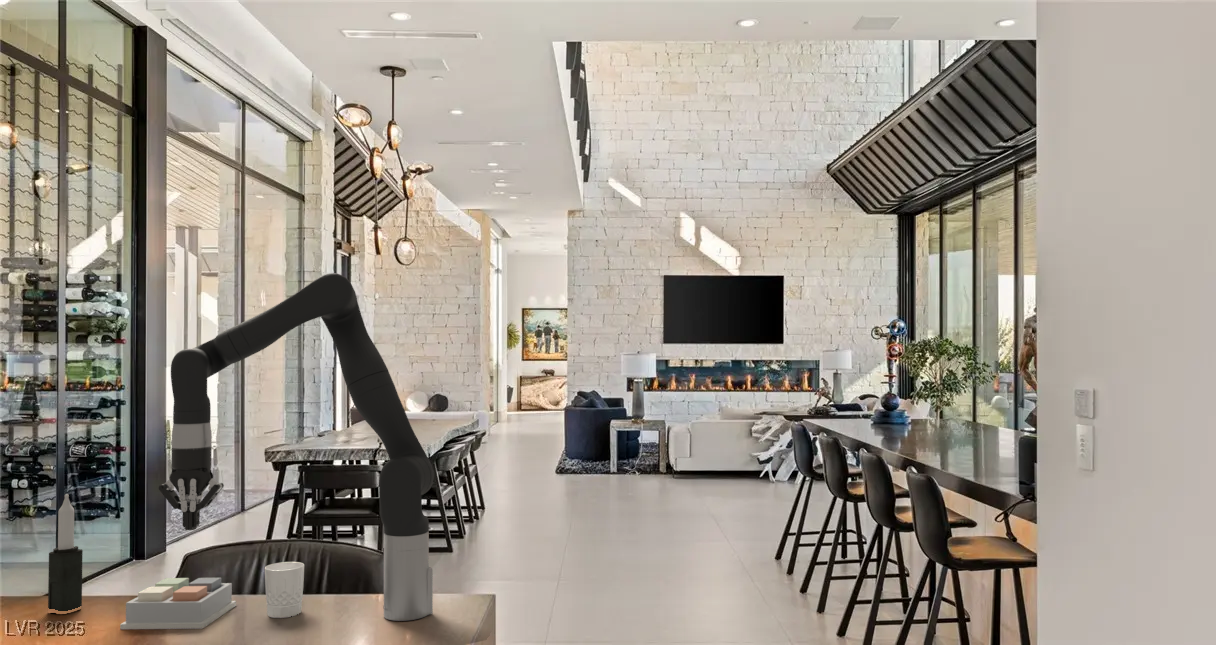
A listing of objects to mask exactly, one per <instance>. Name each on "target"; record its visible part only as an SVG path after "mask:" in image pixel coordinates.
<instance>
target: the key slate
mask: <svg viewBox="0 0 1216 645" xmlns="http://www.w3.org/2000/svg"><path fill="white" fill-rule="evenodd" d="M221 583H222V577H198V578H196V579H194V580H193V581H191V582H189V586H207V592H214V591H215V590H217V589H219V588H220V587H221Z"/></svg>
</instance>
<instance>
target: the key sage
mask: <svg viewBox="0 0 1216 645" xmlns="http://www.w3.org/2000/svg"><path fill="white" fill-rule="evenodd" d="M189 580H190V578H189V577H166V578H164V579H162V580H160V581H158V582H156V583H155V584H154V587H167V586H173V592H175V591H176V590H178V589H180V588H182V587H184V586H189V583H190V582H189Z"/></svg>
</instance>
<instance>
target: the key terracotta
mask: <svg viewBox="0 0 1216 645" xmlns="http://www.w3.org/2000/svg"><path fill="white" fill-rule="evenodd" d="M205 596H207V586H184V587H182V588H180V589H178V590H176V591H175V592H173V601H199V600H201V599H202V598H204V597H205Z"/></svg>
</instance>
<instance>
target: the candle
mask: <svg viewBox="0 0 1216 645" xmlns="http://www.w3.org/2000/svg"><path fill="white" fill-rule="evenodd" d="M69 495H70V494H68V493H66V494H64V496H63V497H64V500H63V502H62V505H61V506H60V508H59V509H58V512H57V514H58V515H57V516H58V521H57V522H58V524H57V527H58V528H57V530H58V531H57V547H56V548H53V550H52V551H50V552H48V578H47V579H48V582H47V583H48V587H47V588H48V589H47V590H48V591H47V596H48V598H47V603H48V604H47V609H48V608H49V609H55V610H58V611H68V610H72V609H75V608H78V607H80V606H82V607H83V552H84V550H83V549H81V548H79V546H78V545H75V508H74V507H73V505H72V504H71V501H70V498H69V497H70V496H69Z"/></svg>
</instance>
